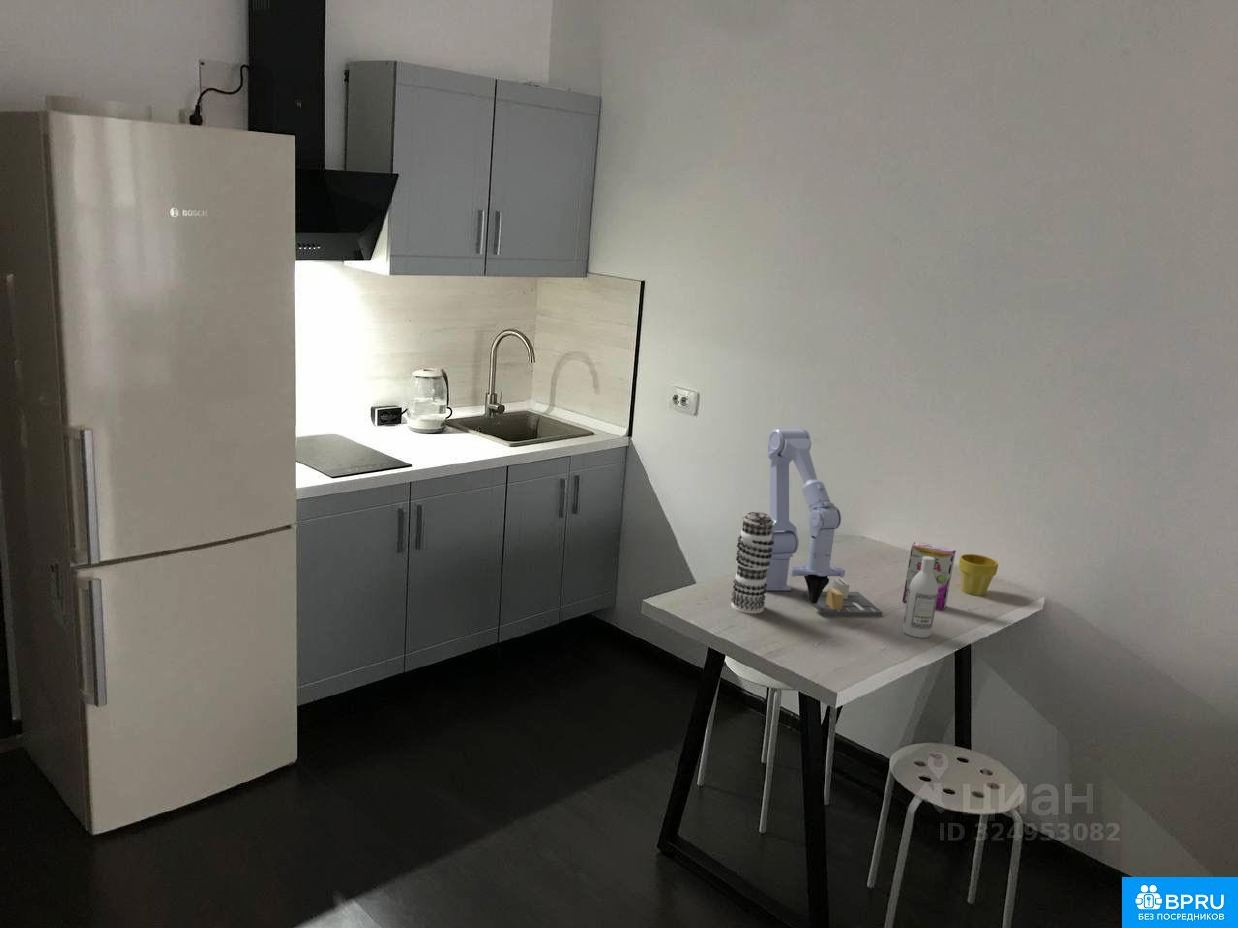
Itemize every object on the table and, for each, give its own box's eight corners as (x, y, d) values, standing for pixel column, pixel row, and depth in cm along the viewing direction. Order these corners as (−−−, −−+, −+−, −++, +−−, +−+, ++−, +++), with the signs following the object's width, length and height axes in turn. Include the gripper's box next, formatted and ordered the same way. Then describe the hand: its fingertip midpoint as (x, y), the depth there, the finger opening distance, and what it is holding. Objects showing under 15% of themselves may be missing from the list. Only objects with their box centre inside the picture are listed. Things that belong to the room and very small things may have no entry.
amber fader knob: (832, 609, 268) (835, 593, 267) (825, 602, 272) (828, 587, 271) (841, 609, 268) (843, 594, 268) (834, 602, 273) (836, 587, 272)
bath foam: (936, 637, 259) (949, 561, 254) (915, 639, 255) (927, 563, 251) (917, 626, 265) (929, 552, 260) (896, 629, 262) (908, 554, 257)
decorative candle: (770, 606, 269) (782, 514, 264) (757, 616, 261) (769, 522, 256) (737, 598, 273) (748, 507, 268) (724, 607, 265) (735, 514, 260)
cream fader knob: (838, 598, 276) (840, 584, 275) (831, 592, 280) (834, 578, 280) (847, 598, 277) (849, 584, 276) (840, 592, 281) (842, 578, 280)
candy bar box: (901, 602, 282) (910, 545, 278) (905, 597, 286) (914, 540, 283) (943, 611, 278) (953, 553, 274) (946, 606, 282) (956, 549, 278)
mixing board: (825, 616, 266) (825, 611, 266) (802, 595, 280) (803, 591, 280) (882, 616, 270) (882, 612, 269) (857, 595, 284) (857, 591, 283)
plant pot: (987, 601, 289) (993, 568, 287) (950, 591, 295) (955, 558, 292) (996, 592, 298) (1002, 560, 295) (960, 583, 303) (966, 551, 301)
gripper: (799, 556, 260) (792, 607, 263) (852, 557, 264) (845, 607, 267) (789, 548, 267) (782, 597, 270) (841, 549, 270) (834, 598, 273)
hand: (813, 602), depth 269 cm, fingers closed
